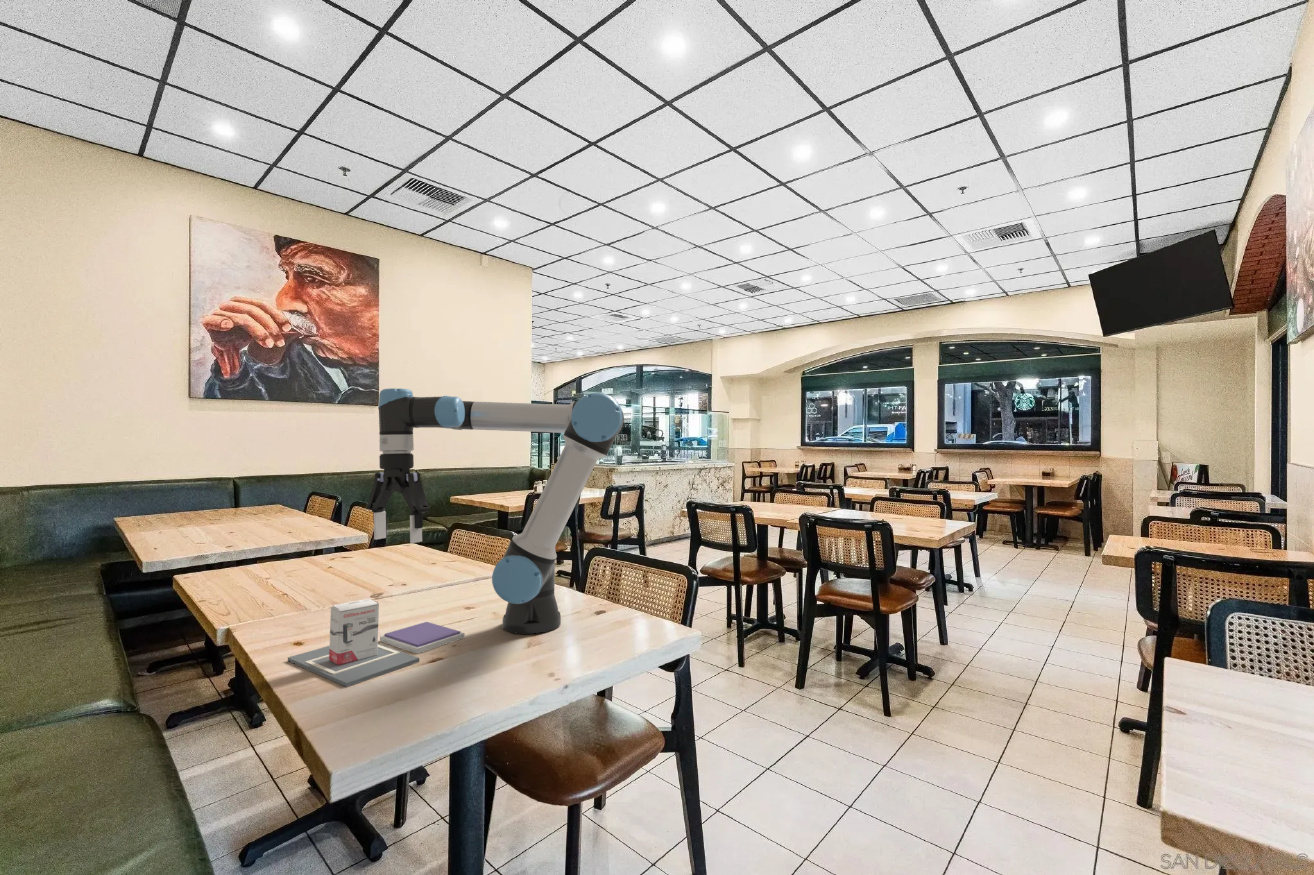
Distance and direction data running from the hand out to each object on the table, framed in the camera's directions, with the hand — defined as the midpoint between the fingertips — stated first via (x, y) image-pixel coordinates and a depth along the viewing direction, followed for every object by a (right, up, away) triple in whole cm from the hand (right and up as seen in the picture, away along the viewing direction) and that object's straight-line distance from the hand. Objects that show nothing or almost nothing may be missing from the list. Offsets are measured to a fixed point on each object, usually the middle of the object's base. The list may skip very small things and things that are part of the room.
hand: (397, 540), depth 137 cm
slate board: (-4, -24, -12) cm, 28 cm away
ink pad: (+5, -25, +2) cm, 25 cm away
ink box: (-4, -24, -12) cm, 27 cm away
